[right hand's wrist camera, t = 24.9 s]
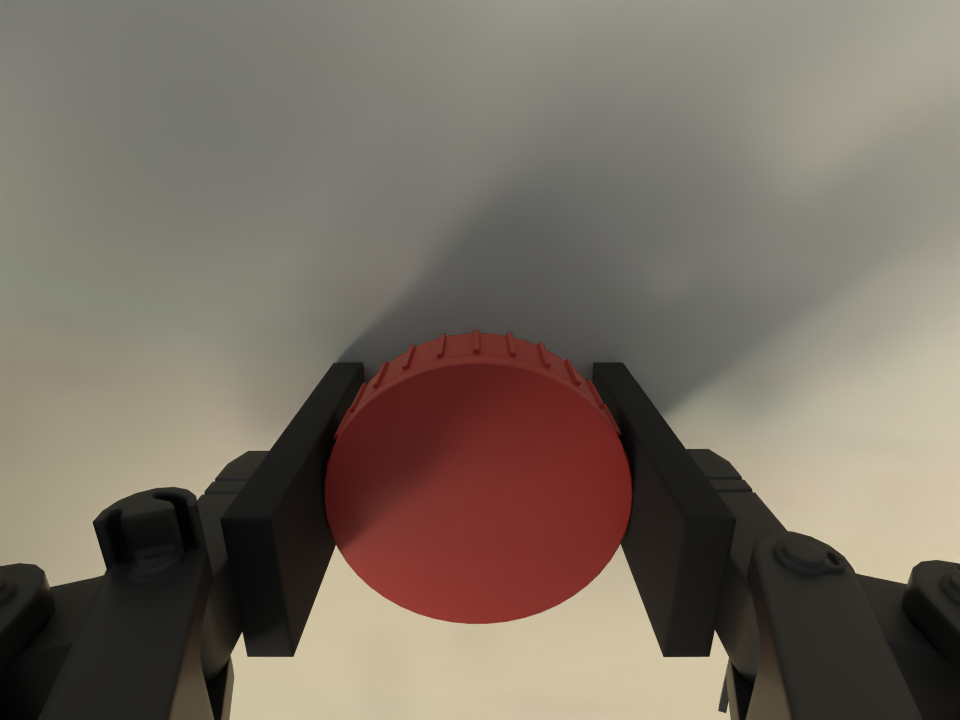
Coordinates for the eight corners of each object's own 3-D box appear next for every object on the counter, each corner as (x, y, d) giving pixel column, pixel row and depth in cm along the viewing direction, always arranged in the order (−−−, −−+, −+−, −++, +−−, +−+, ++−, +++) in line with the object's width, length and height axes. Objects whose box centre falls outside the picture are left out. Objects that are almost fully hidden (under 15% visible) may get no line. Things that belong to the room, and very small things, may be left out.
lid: (660, 379, 11) (691, 416, 10) (555, 593, 13) (566, 655, 12) (381, 289, 11) (364, 313, 9) (314, 530, 13) (290, 586, 11)
